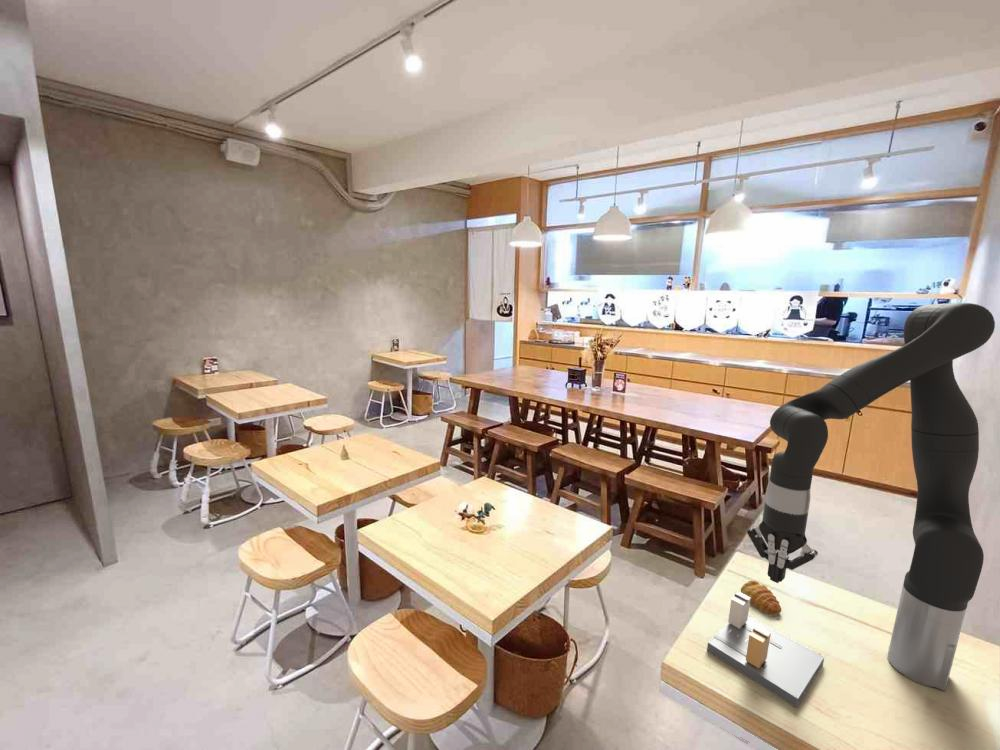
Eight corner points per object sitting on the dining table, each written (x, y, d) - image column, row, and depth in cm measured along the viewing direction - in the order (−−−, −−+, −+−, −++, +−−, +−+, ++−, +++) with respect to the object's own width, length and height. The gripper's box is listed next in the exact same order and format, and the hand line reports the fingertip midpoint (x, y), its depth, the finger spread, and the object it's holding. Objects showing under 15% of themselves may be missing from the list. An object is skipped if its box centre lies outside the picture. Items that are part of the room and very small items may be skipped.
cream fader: (747, 620, 102) (751, 595, 101) (739, 628, 99) (743, 603, 98) (735, 614, 104) (739, 589, 103) (727, 622, 101) (731, 597, 100)
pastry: (788, 615, 108) (790, 601, 107) (765, 620, 106) (767, 606, 105) (758, 590, 116) (760, 577, 116) (736, 594, 115) (737, 580, 114)
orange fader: (767, 658, 92) (771, 631, 90) (759, 668, 89) (763, 640, 88) (753, 650, 94) (757, 623, 92) (745, 660, 91) (749, 632, 90)
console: (822, 665, 93) (824, 656, 93) (796, 707, 83) (798, 698, 83) (738, 618, 106) (739, 610, 106) (706, 650, 96) (708, 641, 96)
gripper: (831, 511, 88) (818, 589, 91) (759, 487, 98) (749, 558, 101) (818, 523, 83) (805, 605, 87) (744, 497, 93) (734, 571, 97)
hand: (775, 580), depth 94 cm, fingers closed
